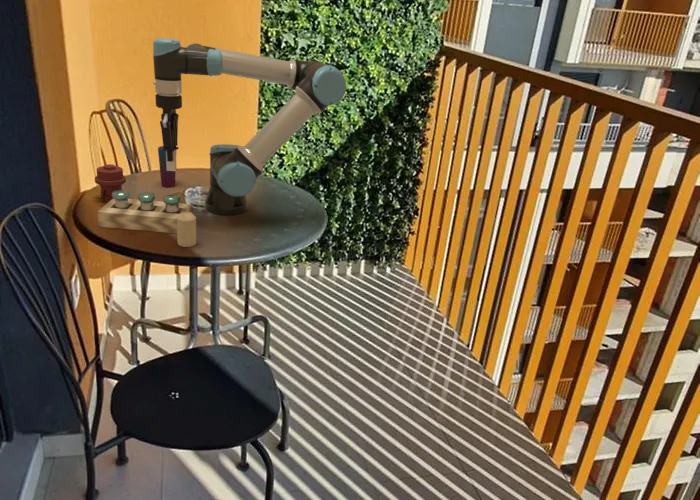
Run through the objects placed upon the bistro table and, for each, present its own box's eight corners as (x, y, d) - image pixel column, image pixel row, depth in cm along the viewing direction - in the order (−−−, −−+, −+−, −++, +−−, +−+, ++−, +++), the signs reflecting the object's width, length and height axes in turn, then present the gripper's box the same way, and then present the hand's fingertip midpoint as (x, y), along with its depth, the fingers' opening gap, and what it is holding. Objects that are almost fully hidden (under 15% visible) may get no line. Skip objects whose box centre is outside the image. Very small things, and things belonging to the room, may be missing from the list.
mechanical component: (132, 197, 195) (116, 206, 186) (107, 193, 197) (90, 201, 188) (130, 164, 190) (114, 171, 181) (105, 160, 192) (87, 167, 183)
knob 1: (133, 215, 178) (132, 190, 175) (128, 220, 173) (126, 195, 170) (117, 213, 178) (115, 189, 174) (111, 219, 173) (109, 194, 170)
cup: (174, 189, 209) (173, 151, 203) (156, 187, 209) (155, 149, 202) (179, 183, 215) (178, 146, 209) (162, 182, 215) (161, 144, 209)
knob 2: (182, 219, 179) (182, 195, 176) (178, 225, 174) (178, 200, 171) (166, 218, 179) (165, 193, 175) (162, 223, 174) (161, 198, 171)
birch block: (193, 218, 184) (192, 204, 182) (182, 233, 171) (182, 219, 169) (115, 211, 182) (114, 197, 180) (98, 226, 169) (97, 211, 167)
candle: (186, 248, 161) (185, 217, 157) (173, 243, 164) (172, 212, 160) (200, 243, 166) (199, 213, 162) (187, 238, 168) (187, 208, 164)
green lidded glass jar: (158, 217, 179) (157, 193, 175) (153, 223, 174) (152, 198, 170) (142, 215, 178) (140, 191, 175) (137, 221, 174) (135, 196, 170)
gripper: (161, 89, 166) (164, 163, 176) (149, 96, 155) (153, 175, 164) (186, 91, 167) (188, 165, 177) (176, 98, 155) (178, 177, 165)
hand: (171, 170), depth 170 cm, fingers closed
